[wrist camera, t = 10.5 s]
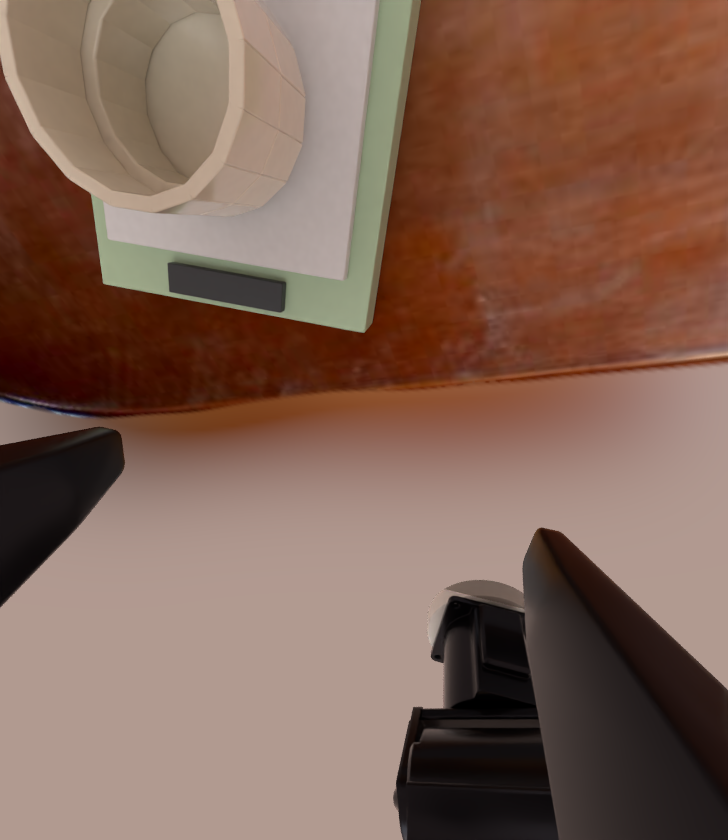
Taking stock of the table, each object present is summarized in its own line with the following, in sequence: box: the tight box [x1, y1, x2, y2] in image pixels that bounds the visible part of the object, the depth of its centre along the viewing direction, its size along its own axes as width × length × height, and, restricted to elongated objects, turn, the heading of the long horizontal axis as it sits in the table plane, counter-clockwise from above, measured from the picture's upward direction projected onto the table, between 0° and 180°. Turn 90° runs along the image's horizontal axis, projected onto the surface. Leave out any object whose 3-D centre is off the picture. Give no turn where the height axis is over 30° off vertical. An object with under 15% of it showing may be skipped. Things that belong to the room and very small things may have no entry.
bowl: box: [0, 0, 306, 217], centre depth 12 cm, size 6×6×5 cm
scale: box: [91, 0, 421, 333], centre depth 16 cm, size 12×12×3 cm
